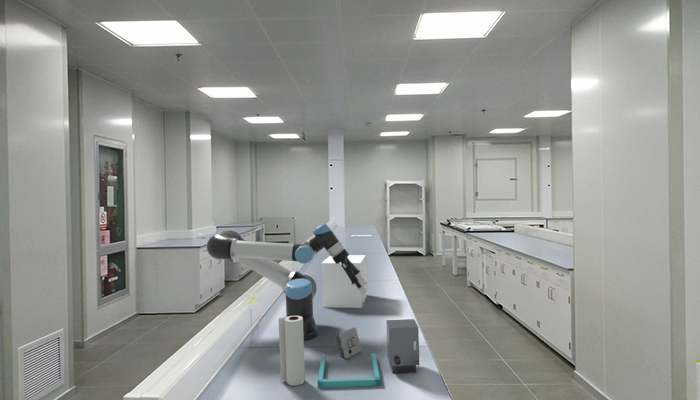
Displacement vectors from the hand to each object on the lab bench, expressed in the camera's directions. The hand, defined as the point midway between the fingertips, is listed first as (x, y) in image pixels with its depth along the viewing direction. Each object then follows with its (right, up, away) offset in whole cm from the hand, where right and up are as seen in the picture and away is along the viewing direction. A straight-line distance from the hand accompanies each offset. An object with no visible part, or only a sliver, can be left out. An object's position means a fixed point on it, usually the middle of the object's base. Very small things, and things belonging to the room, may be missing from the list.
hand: (364, 288), depth 183 cm
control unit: (+12, -17, -48) cm, 52 cm away
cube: (-9, -16, +38) cm, 42 cm away
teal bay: (-7, -18, -49) cm, 53 cm away
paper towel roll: (-25, -18, -54) cm, 63 cm away
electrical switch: (-8, -17, -34) cm, 39 cm away
